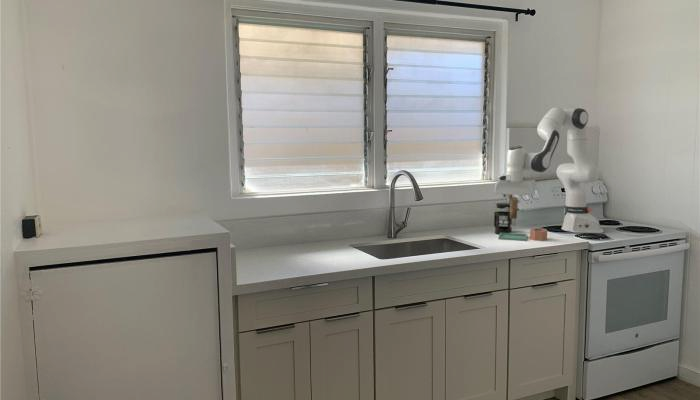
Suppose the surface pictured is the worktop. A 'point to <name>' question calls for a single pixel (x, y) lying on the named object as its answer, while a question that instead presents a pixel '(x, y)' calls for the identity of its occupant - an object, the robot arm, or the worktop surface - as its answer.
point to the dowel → (513, 207)
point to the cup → (538, 234)
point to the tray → (512, 236)
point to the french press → (503, 213)
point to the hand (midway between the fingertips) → (513, 203)
